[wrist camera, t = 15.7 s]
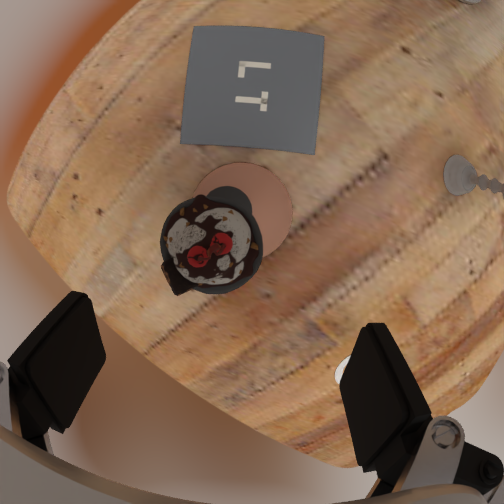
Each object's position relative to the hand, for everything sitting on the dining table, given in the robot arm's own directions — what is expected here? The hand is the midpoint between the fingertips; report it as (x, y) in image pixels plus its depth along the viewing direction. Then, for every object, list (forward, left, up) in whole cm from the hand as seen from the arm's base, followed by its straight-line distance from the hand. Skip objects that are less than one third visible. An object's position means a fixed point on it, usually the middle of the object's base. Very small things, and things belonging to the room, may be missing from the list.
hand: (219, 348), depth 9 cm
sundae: (0, -2, -20) cm, 20 cm away
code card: (-13, 0, -20) cm, 24 cm away
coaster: (0, 0, -20) cm, 20 cm away
